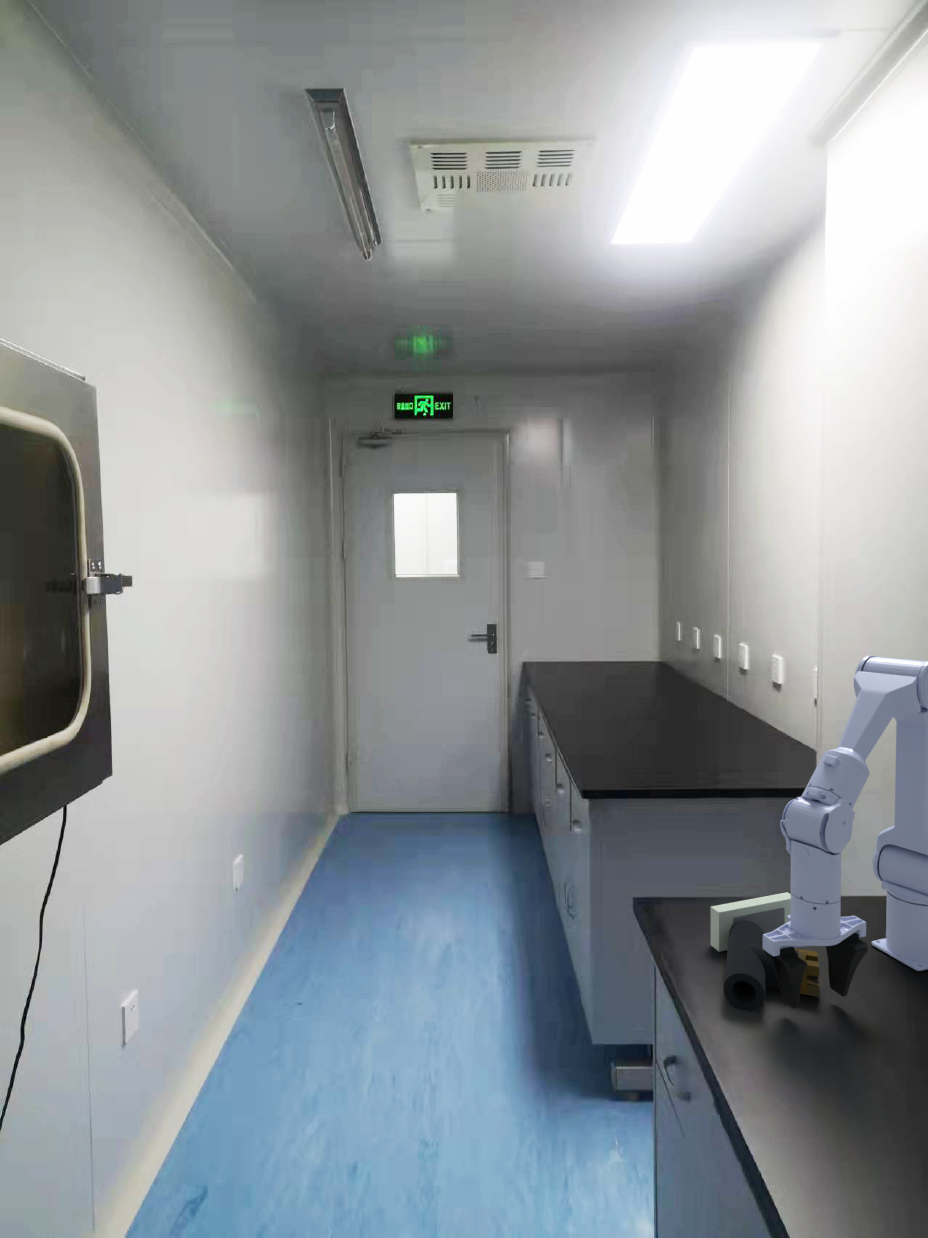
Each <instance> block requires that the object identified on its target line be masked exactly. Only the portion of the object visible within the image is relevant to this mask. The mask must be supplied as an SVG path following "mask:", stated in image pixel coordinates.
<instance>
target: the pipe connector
mask: <svg viewBox="0 0 928 1238" xmlns="http://www.w3.org/2000/svg"><path fill="white" fill-rule="evenodd" d="M763 934H764V932H763V930H762V929H761V928H760V927H759V926H758V925H757V924H755V923H754V922H751V921H747V920H742V921H738V922H736V923H735V924H733V925H732V927H731V929H730V933H729V942H728V950H726V951H727V952H726V961H725V972H724V977H723V978H724V979H723V995H724V996H725V998H726V1001H727V1002H728V1003H729V1004H730V1005H731V1006H732V1007H734V1008H736V1009H737V1010H739V1011H744V1012H748V1013H749V1012H754V1011H757V1010H759V1009H761V1007H763V1005H764V1003H765V1000H766V987H770V988H777V989H780V987H779V984H778V980H777V977H776V974H775V972H774V969H773V967H772V965H771V963H770V961H769V959H768V957H767V955H766V954H765V952H764V950H763ZM795 953H797V954H798V957H799V958H800V959H802V960H803V961H805V962H806V963H807V966H806V968H805V970H804V973H803V977H802V981H801V989H800V995H801V994H802V995H807V996H813V997H819V998H820V996H821V995H820V981H819V977H820V964H819V957H818V951H814V950H807V949H801V948H800V949H799V948H795Z"/></svg>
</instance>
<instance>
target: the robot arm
mask: <svg viewBox="0 0 928 1238" xmlns="http://www.w3.org/2000/svg"><path fill="white" fill-rule="evenodd" d="M853 689H854V693H855V697H856V700H855V702H854V704H853V707H852V710H851V713H850V715H849V717H848V720H847V723H846V725H845V728H844V730H843V732H842V735H841V737H840V740H839V742H838V745H837V748H832V749H828V750H827V751H825V752H824V753H823V754H822V757H820V760H819V762H818V764H817V765H816V768H814V771H813V773H812V775H811V777H810V778H809V781H808V783H807V785H806V787H805V788H804V791H803V792H802V794H801V796H797V797H796V798H793V799H791V800H789V802H788V803H787V804H786V805H785V806H784V807H785V808H783V809H784V810H783V812H782V815H781V817H782V818H781V820H780V821H779V827H780V830H781V833H782V836H783V837H784V839H785V850H786V851H787V853H788V855H790V894H791V915H788V916H787V921H788V922H787V923H786V924H784V925H782V926H781V927H779V928H777V929H776V930H774V931H772V932H770V933H766V934H763V950H764V952H765V954H766V955H767V957H768V959H769V961H770V963H771V965H772V967H773V969H774V972H775V974H776V977H777V980H778V984H779V987H780V988H779V990H780V994H781V999H782V1002H784V1003H785V1004H786V1005H788V1006H789V1007H790V1008H792V1009H798V1008H799V1006H800V1002H801V994H800V989H801V981H802V977H803V973H804V970H805V968H806V966H807V963H806V962H805V961H803V960H802V959H800V958H799V957H798V954H797V953H795V949H799V948H805V947H825V949H826V956H827V962H828V963H827V966H828V981H829V982H828V983H829V986H830V990H833V991H834V992H835V993H837V994H838V995H840V996H841V997H847V995H848V992H849V991H850V990H849V989H850V987H851V984H852V980H853V978H854V974H855V972H856V970H857V969H858V966H859V964H860V963H861V961H862V960H863V958H864V957H865V955H867V953H868V951H869V949H868V947H869V946H868V943H866V942H865V941H863V940H861V939H860V938H866V937H867V921H865V920H863V919H861V918H860V917H858V916H856V915H849V916H841V911H842V910H841V908H842V907H841V906H842V905H841V903H842V901H841V900H842V899H841V897H842V896H841V895H842V894H841V893H842V885H841V884H842V881H841V879H842V852H843V851H844V850H845V848H846V847H847V846H848V843H850V841H851V839H852V834H853V823H854V819H855V814H856V812H855V811H854V808H855V804H856V803H857V801H858V799H859V797H860V795H861V792H862V790H863V789H864V786H865V784H866V782H867V781H868V778H869V777H870V770H869V768H868V765H867V762H866V760H867V759H868V757H869V755H870V754H871V753H872V751H873V749H874V748H875V746H876V745H877V743H878V742H879V740H880V738H881V736H882V735H883V733H884V732H885V730H886V729H887V727H888V726H889V724H890V722H891V721H892V719H893V718H894V720H895V721H896V727H895V728H896V729H895V730H896V731H895V736H896V737H895V738H896V739H895V778H894V779H895V781H894V786H895V787H894V825H892V826H890V827H887V828H886V829H883V830H882V831H881V832H879V834H877V836H876V838H877V839H876V846H875V849H874V853H873V856H872V864H871V865H872V870H873V873H874V876H875V877H876V879H877V880H878V881H879V882H881V889H883V890H885V891H886V918H885V919H886V924H885V925H886V926H885V928H886V929H885V937H884V938H879V939H877V940H872V941H871V945H872V946H873V947H874V948H876V949H877V950H880V951H882V952H883V953H886V954H887V955H889V956H890V957H892V958H894V959H896V960H897V961H899V962H900V963H902V964H904V965H906V966H907V967H910V968H911V969H913V970H915V971H916V972H921V971H925V970H928V661H926V660H917V659H916V660H915V659H903V658H894V657H893V658H892V657H882V656H880V657H879V656H877V655H871V654H869V655H865V656H864V657H863V658H862V659H861V660H860V661H859V663H858V664H857V666H856V669H855V672H854V676H853Z"/></svg>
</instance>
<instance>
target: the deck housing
mask: <svg viewBox="0 0 928 1238" xmlns="http://www.w3.org/2000/svg"><path fill="white" fill-rule="evenodd" d="M788 915H791V892H790V893H789V892H787V891H786V892H783V893H782V892H781V893H777V894H776V893H775V894H770V895H766V896H760V897H759V896H758V897H755V898H750V899H744V900H738V901H735V902H734V901H733V902H728V903H722V904H718V905H717V904H716V905H712V906H710V946H711V947H713V949H715V950H716V951H717V952H719V953H720V952H725V951H728V942H729V933H730V929H731V927H732V925H733V924H735V923H736V922H738V921H742V920H747V921H751V922H754V923H755V924H757V925H758V926H759V927H760V928H761V929H762V930H763V932H764V934H766V933H770V932H772V931H774V930H776V929H777V928H779V927H781V926H782V925H784V924H786V923H787V922H788V921H787V916H788Z"/></svg>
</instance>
